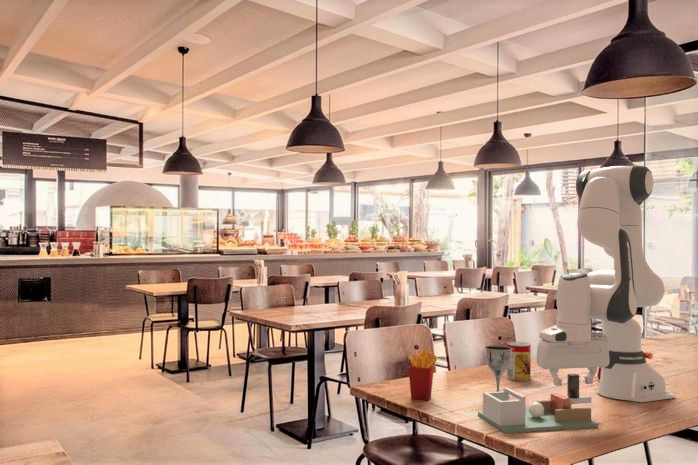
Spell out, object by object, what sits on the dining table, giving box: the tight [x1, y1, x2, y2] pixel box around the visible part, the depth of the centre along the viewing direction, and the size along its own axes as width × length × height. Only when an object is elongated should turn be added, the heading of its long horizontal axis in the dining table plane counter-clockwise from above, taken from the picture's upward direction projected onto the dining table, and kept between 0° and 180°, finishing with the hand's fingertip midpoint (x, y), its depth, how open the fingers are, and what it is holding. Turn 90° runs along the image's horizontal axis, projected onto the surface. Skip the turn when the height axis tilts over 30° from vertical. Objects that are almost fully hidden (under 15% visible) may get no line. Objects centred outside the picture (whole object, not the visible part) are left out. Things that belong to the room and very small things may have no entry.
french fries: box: [407, 348, 438, 402], centre depth 185 cm, size 9×8×15 cm
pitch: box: [477, 387, 599, 434], centre depth 162 cm, size 26×16×8 cm, turn 103°
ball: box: [528, 401, 544, 418], centre depth 162 cm, size 4×4×4 cm
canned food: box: [506, 341, 532, 382], centre depth 214 cm, size 8×8×12 cm
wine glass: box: [484, 344, 511, 399], centre depth 188 cm, size 8×8×15 cm
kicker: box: [550, 373, 592, 414], centre depth 165 cm, size 10×6×10 cm, turn 103°
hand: (573, 384), depth 165 cm, fingers open, 8 cm apart
